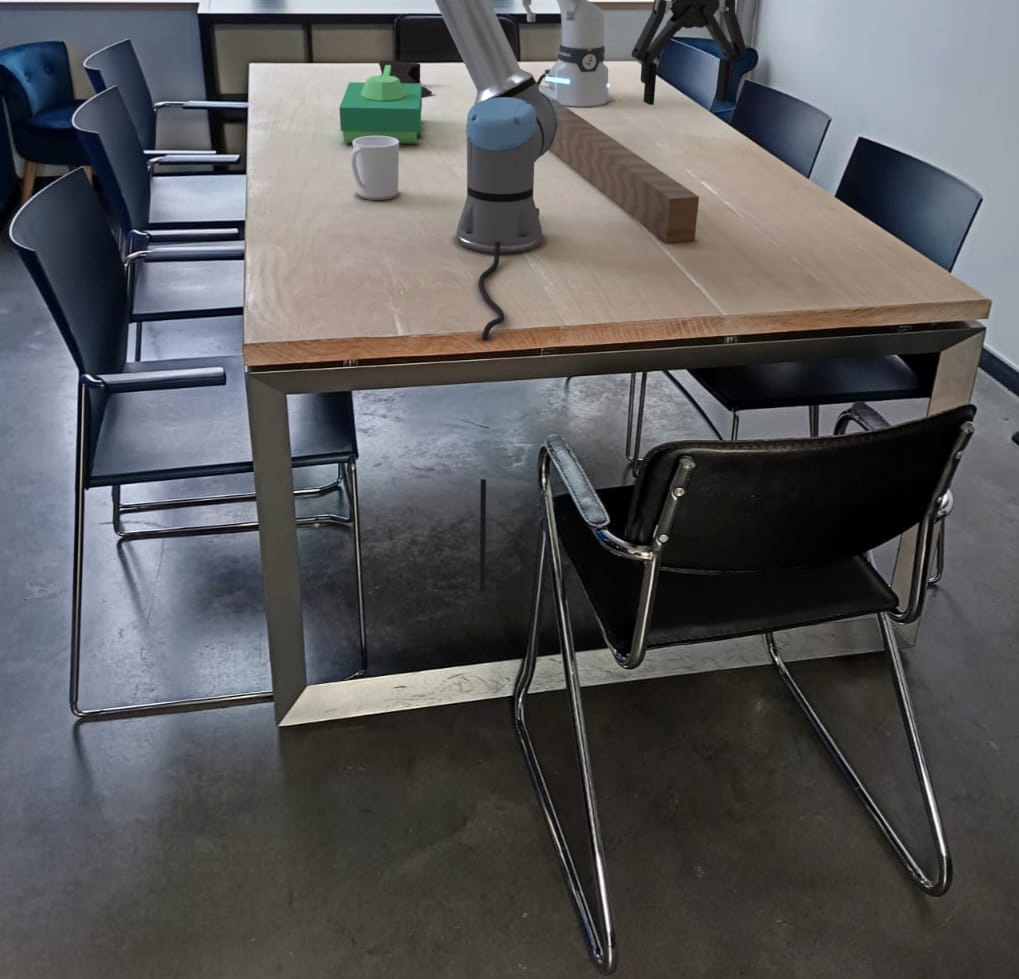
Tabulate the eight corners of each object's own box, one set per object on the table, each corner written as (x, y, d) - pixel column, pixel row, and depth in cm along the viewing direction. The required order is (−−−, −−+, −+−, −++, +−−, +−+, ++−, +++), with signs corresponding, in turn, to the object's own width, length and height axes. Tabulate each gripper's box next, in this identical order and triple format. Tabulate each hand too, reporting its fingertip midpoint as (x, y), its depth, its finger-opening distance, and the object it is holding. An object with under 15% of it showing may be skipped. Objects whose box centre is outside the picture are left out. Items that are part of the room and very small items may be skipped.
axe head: (443, 87, 294) (392, 77, 287) (436, 115, 299) (385, 106, 292) (421, 62, 307) (371, 52, 300) (414, 89, 311) (365, 80, 304)
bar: (694, 240, 198) (699, 196, 194) (666, 242, 197) (670, 198, 192) (552, 133, 264) (553, 98, 259) (530, 134, 262) (531, 99, 258)
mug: (378, 184, 223) (375, 133, 218) (409, 193, 218) (408, 141, 213) (338, 196, 216) (335, 143, 210) (370, 205, 211) (367, 151, 206)
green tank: (422, 61, 273) (418, 91, 243) (422, 112, 279) (419, 147, 249) (350, 60, 272) (338, 90, 242) (353, 111, 278) (341, 146, 248)
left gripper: (756, -38, 183) (740, 93, 195) (618, -37, 177) (609, 99, 188) (778, -33, 177) (760, 102, 188) (636, -31, 171) (625, 109, 182)
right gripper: (593, -50, 244) (589, 17, 251) (505, -49, 238) (504, 19, 246) (603, -47, 239) (599, 21, 246) (513, -46, 233) (512, 24, 240)
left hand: (684, 101), depth 188 cm, fingers open, 13 cm apart
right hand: (551, 20), depth 246 cm, fingers open, 8 cm apart
